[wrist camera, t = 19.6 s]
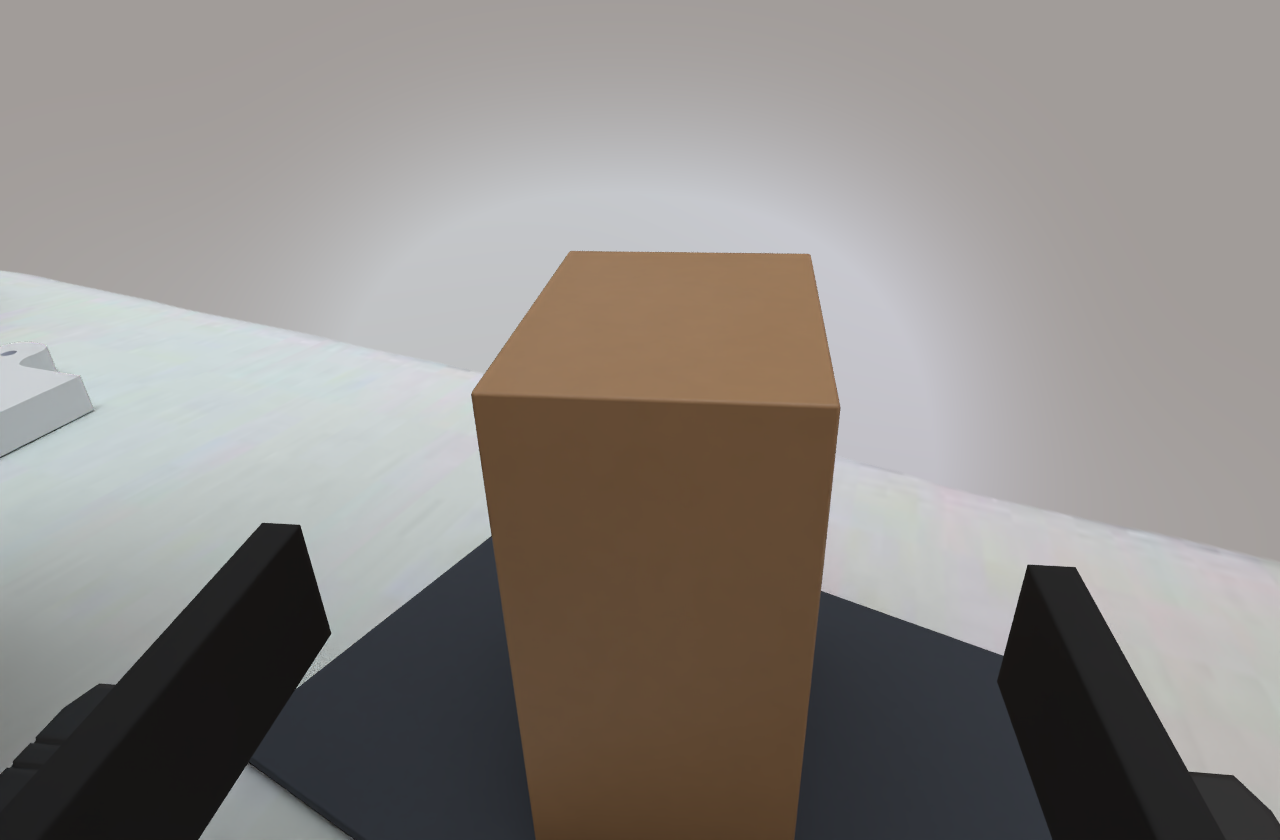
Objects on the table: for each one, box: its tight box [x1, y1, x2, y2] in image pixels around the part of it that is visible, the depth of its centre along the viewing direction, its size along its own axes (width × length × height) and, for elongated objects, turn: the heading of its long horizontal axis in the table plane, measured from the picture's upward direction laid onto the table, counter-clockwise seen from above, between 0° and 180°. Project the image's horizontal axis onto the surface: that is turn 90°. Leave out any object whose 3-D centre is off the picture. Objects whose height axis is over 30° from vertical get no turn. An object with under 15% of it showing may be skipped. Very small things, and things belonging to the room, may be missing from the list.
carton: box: [471, 251, 840, 840], centre depth 19 cm, size 6×8×12 cm
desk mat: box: [249, 536, 1052, 840], centre depth 22 cm, size 20×14×1 cm
